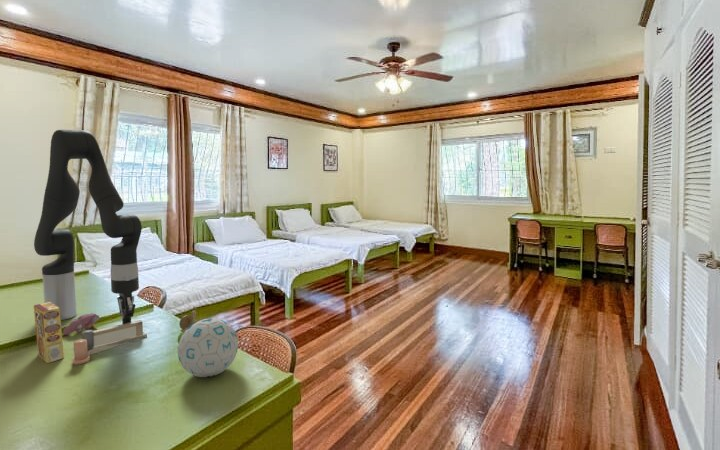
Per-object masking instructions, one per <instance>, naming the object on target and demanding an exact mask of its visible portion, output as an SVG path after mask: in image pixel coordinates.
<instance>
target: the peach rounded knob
mask: <svg viewBox="0 0 720 450" xmlns="http://www.w3.org/2000/svg"><path fill="white" fill-rule="evenodd" d="M73 353H74V354H73V356H74V358H72V364H73V365H75V366H77V365H78V366H79V365H83V364H86V363H88V362H91V355H88V352H87V340H86V339H82V338H81V339H77V340H75V341H73Z"/></svg>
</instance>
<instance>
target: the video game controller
mask: <svg viewBox="0 0 720 450" xmlns="http://www.w3.org/2000/svg"><path fill="white" fill-rule="evenodd" d="M99 319H100V315H98V314H96V313H93V312H91V313H86V314H85V313H84V314H82V315H80V316H79V317H77V318H75V319H73V320H72V321H71V322H70V323H69V324H68V325H67V326H66V327H64V328H63V330H62V335H64V336H67V335H71V334H72V333H74V332H76V333H78V334H80V333H82V332H83V331H84V329H85V330H91V328H92V327H93V325H94V324H96V323H97V322H98V321H99Z"/></svg>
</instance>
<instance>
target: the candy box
mask: <svg viewBox="0 0 720 450" xmlns="http://www.w3.org/2000/svg"><path fill="white" fill-rule="evenodd" d="M33 314H34V323H35V325H34V326H35V333H36V344H37V353H38V354H37V355H38V356H39V357H40V358H41V359H42V360H44V362H45V363H47V364H49V363H53V362H56V361H59V360H62V359H64V358H65V357H64V345H63V344H64V343H63V330H62V320H61V317H60V308H59V307H57V306H56V305H54V304H53V303H51V302H48V303H38V304H34V305H33Z"/></svg>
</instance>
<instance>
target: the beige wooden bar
mask: <svg viewBox="0 0 720 450" xmlns="http://www.w3.org/2000/svg"><path fill="white" fill-rule="evenodd" d="M143 328H144V325H143V321H142V320H139V319H138V320H134V321H131V322H130V323H126V324H117V325H114V326H109V327H105V328H100V329H97V330H96V329H95V330H92V329H85V330H83V331H82V332H81V339H86V340H87V350H90V349H92V348H94V347H96V346H99V345H103V344H107V343H111V342H115V341H119V340H123V339H127V338H131V337H135V336H140V335H143V332H144V329H143Z"/></svg>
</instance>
